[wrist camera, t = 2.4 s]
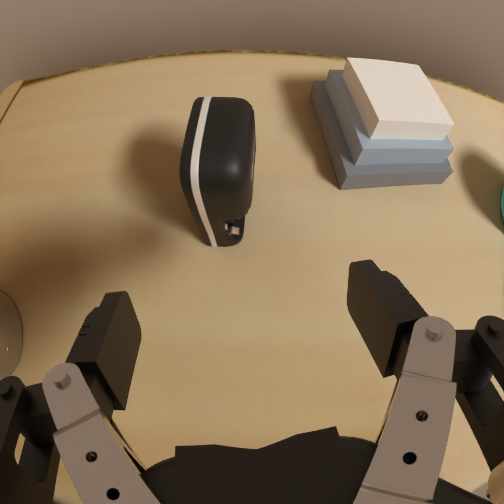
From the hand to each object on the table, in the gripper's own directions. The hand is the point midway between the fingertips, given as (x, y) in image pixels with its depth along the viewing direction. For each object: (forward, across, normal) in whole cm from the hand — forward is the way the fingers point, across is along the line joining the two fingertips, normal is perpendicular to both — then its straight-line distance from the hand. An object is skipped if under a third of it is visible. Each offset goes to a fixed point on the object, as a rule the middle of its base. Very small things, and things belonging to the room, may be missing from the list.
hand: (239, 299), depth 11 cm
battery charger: (+17, 0, +3) cm, 17 cm away
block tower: (+22, -16, -2) cm, 27 cm away
